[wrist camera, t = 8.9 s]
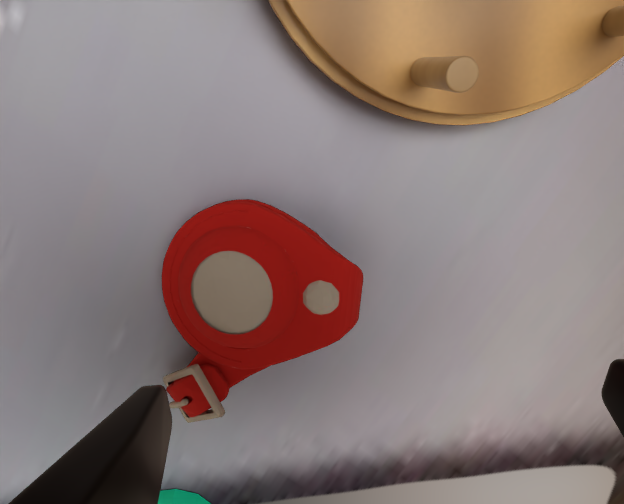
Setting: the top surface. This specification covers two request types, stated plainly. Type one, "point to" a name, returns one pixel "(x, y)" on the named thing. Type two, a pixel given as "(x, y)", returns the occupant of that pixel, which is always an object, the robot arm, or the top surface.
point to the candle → (180, 497)
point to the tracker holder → (250, 298)
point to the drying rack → (466, 48)
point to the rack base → (382, 102)
